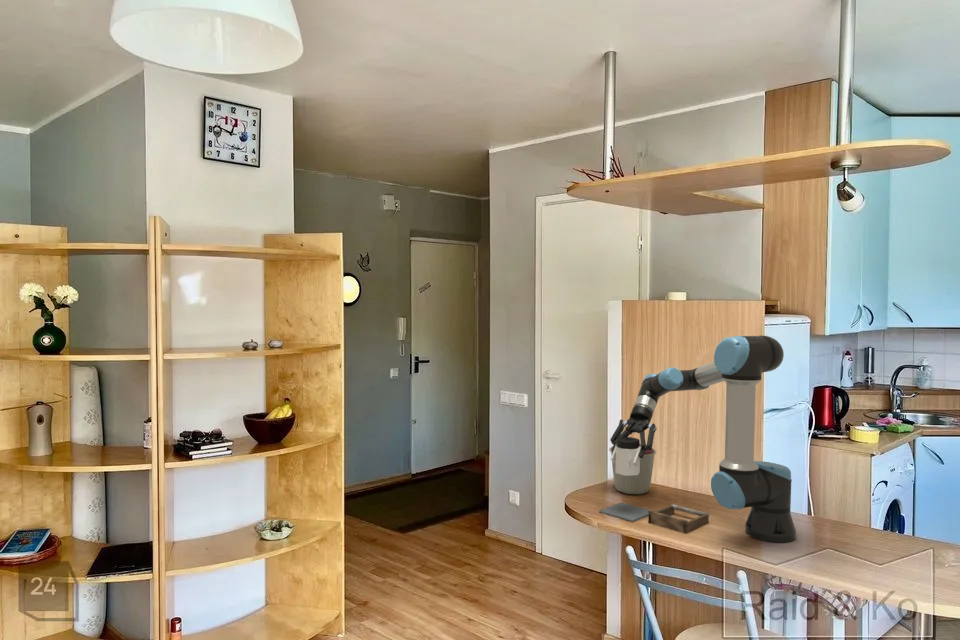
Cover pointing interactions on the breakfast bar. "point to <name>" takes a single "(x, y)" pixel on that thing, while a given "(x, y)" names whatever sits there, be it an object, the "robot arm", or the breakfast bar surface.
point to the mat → (626, 512)
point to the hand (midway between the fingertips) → (623, 462)
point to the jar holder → (677, 519)
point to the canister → (636, 476)
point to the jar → (626, 456)
